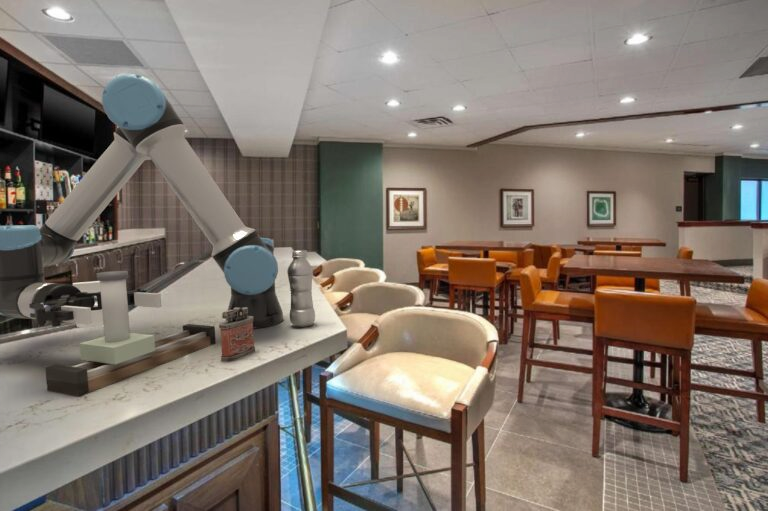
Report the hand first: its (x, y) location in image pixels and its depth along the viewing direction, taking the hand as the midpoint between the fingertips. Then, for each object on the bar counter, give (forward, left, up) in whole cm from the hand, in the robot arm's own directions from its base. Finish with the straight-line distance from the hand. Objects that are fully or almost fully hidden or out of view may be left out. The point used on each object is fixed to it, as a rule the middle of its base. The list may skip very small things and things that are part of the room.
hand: (127, 307), depth 75 cm
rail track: (0, -6, -13) cm, 14 cm away
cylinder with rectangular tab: (+27, -47, -13) cm, 56 cm away
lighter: (-18, -6, -13) cm, 23 cm away
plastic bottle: (-31, -27, -13) cm, 43 cm away
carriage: (+3, -2, -9) cm, 10 cm away
